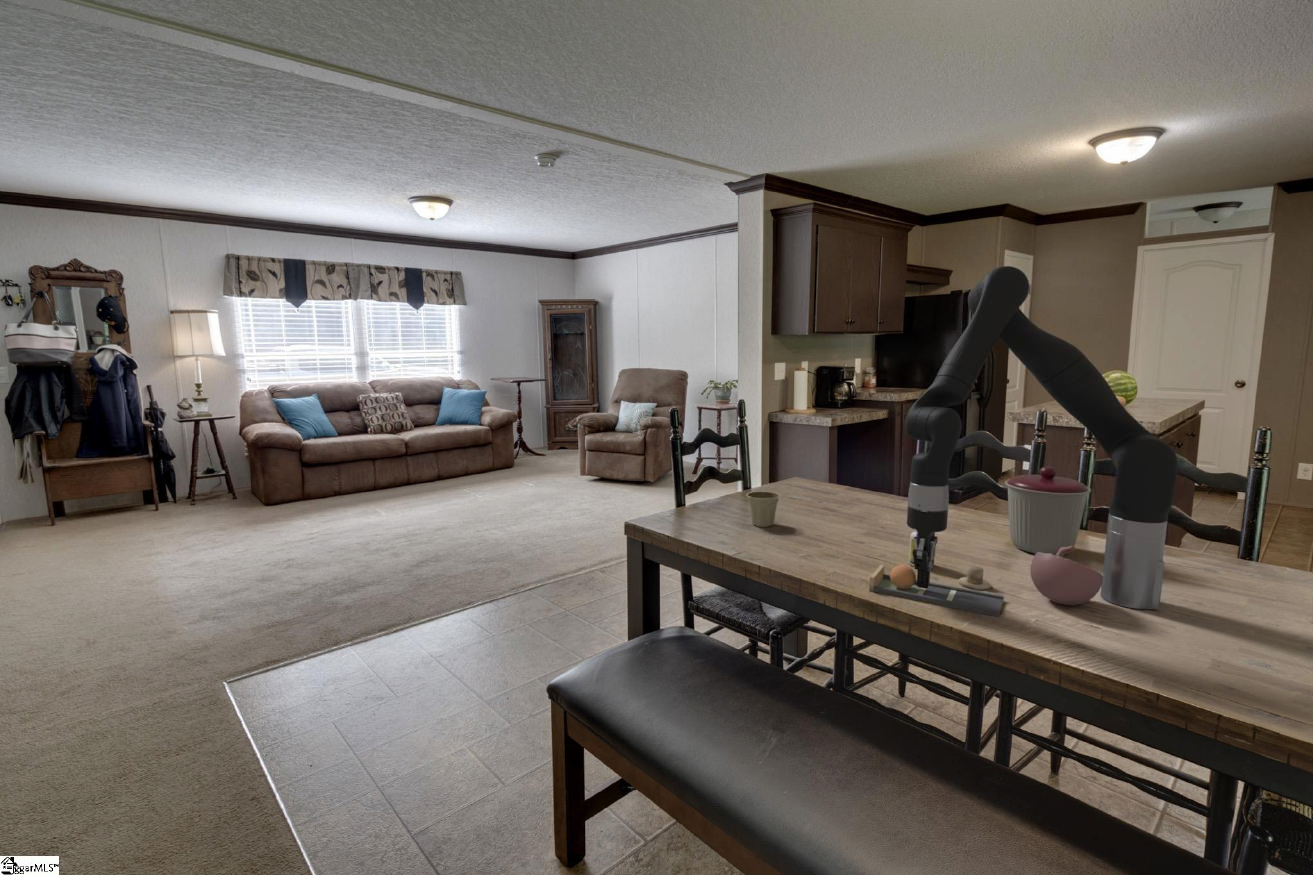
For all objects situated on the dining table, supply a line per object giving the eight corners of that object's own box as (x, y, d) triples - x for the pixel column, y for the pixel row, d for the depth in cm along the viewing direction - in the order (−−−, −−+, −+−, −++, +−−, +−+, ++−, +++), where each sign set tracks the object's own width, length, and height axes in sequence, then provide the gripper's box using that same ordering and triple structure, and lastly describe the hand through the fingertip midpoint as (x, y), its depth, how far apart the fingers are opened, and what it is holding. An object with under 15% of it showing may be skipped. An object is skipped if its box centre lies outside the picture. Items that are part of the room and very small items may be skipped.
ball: (894, 584, 137) (919, 585, 134) (888, 591, 133) (913, 593, 130) (892, 561, 137) (917, 562, 134) (886, 568, 133) (911, 569, 130)
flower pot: (740, 521, 186) (741, 492, 185) (769, 518, 189) (770, 490, 187) (754, 530, 177) (755, 499, 176) (785, 527, 180) (786, 497, 179)
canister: (1065, 567, 147) (1073, 477, 144) (986, 547, 162) (992, 465, 158) (1097, 552, 158) (1105, 468, 155) (1020, 534, 172) (1026, 457, 169)
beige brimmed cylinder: (991, 583, 137) (992, 567, 137) (988, 592, 132) (989, 575, 132) (961, 577, 140) (962, 561, 140) (956, 586, 136) (958, 569, 135)
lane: (1003, 600, 128) (1004, 586, 127) (999, 616, 120) (1000, 601, 120) (880, 577, 141) (880, 564, 140) (869, 590, 133) (869, 576, 133)
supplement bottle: (936, 569, 145) (938, 528, 144) (911, 568, 147) (913, 526, 145) (931, 562, 151) (933, 521, 149) (906, 560, 152) (909, 520, 150)
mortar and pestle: (1111, 606, 125) (1117, 550, 123) (1078, 620, 119) (1084, 560, 117) (1049, 586, 135) (1053, 534, 133) (1015, 598, 129) (1019, 543, 128)
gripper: (914, 496, 137) (910, 573, 139) (901, 509, 126) (896, 593, 128) (953, 500, 133) (947, 580, 135) (942, 514, 122) (936, 601, 124)
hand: (922, 586), depth 132 cm, fingers closed
